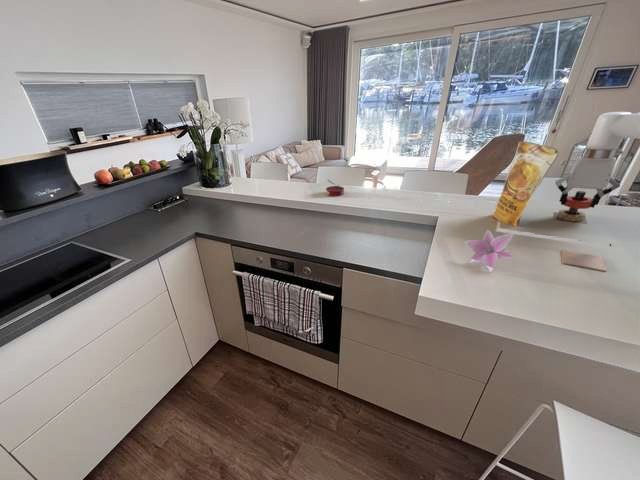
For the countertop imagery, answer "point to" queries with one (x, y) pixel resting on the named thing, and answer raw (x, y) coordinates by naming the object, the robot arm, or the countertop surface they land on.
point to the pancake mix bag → (523, 180)
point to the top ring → (578, 203)
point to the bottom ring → (568, 217)
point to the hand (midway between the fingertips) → (576, 204)
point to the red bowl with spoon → (334, 190)
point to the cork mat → (583, 260)
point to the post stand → (573, 211)
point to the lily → (490, 248)
